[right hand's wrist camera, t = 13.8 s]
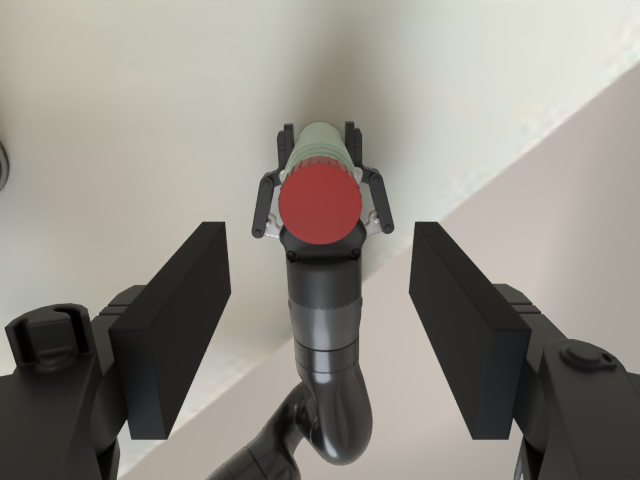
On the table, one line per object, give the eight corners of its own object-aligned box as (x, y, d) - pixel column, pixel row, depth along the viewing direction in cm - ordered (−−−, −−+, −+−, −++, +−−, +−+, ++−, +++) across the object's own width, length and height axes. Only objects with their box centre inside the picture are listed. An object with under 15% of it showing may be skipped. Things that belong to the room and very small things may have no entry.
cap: (335, 140, 22) (337, 146, 19) (371, 208, 23) (377, 221, 21) (267, 178, 22) (261, 189, 20) (305, 242, 24) (304, 259, 21)
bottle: (329, 112, 42) (339, 139, 20) (350, 153, 43) (381, 220, 21) (289, 135, 43) (256, 185, 20) (311, 174, 44) (302, 261, 22)
